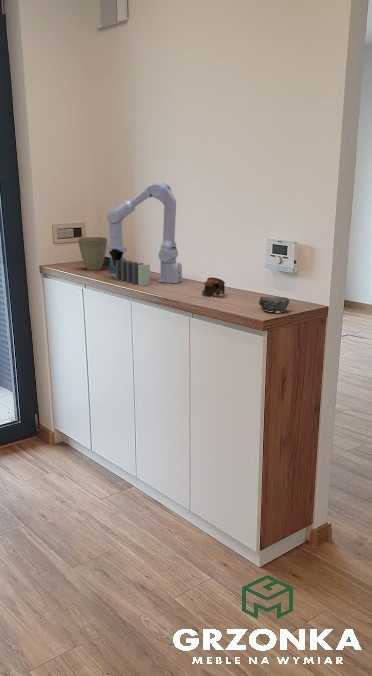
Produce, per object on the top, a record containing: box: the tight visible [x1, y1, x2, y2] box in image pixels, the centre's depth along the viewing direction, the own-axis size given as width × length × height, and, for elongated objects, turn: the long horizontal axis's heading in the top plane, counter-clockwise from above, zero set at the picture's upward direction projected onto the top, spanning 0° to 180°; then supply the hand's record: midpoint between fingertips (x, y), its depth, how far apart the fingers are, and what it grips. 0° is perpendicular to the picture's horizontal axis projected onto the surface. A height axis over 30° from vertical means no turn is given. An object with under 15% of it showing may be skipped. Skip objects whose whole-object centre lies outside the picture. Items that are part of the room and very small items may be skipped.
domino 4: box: [132, 262, 145, 285], centre depth 265 cm, size 2×5×9 cm, turn 129°
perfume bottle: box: [109, 255, 125, 275], centre depth 294 cm, size 6×6×12 cm
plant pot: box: [77, 236, 108, 271], centre depth 303 cm, size 15×15×16 cm
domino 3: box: [126, 261, 138, 284], centre depth 268 cm, size 2×5×9 cm, turn 129°
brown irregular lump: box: [201, 276, 226, 297], centre depth 240 cm, size 12×10×8 cm
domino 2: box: [120, 260, 133, 282], centre depth 271 cm, size 2×5×9 cm, turn 129°
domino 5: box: [138, 263, 151, 287], centre depth 261 cm, size 2×5×9 cm, turn 129°
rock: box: [258, 296, 290, 312], centre depth 213 cm, size 12×10×5 cm
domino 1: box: [115, 259, 127, 281], centre depth 275 cm, size 2×5×9 cm, turn 129°
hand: (116, 266), depth 277 cm, fingers closed
